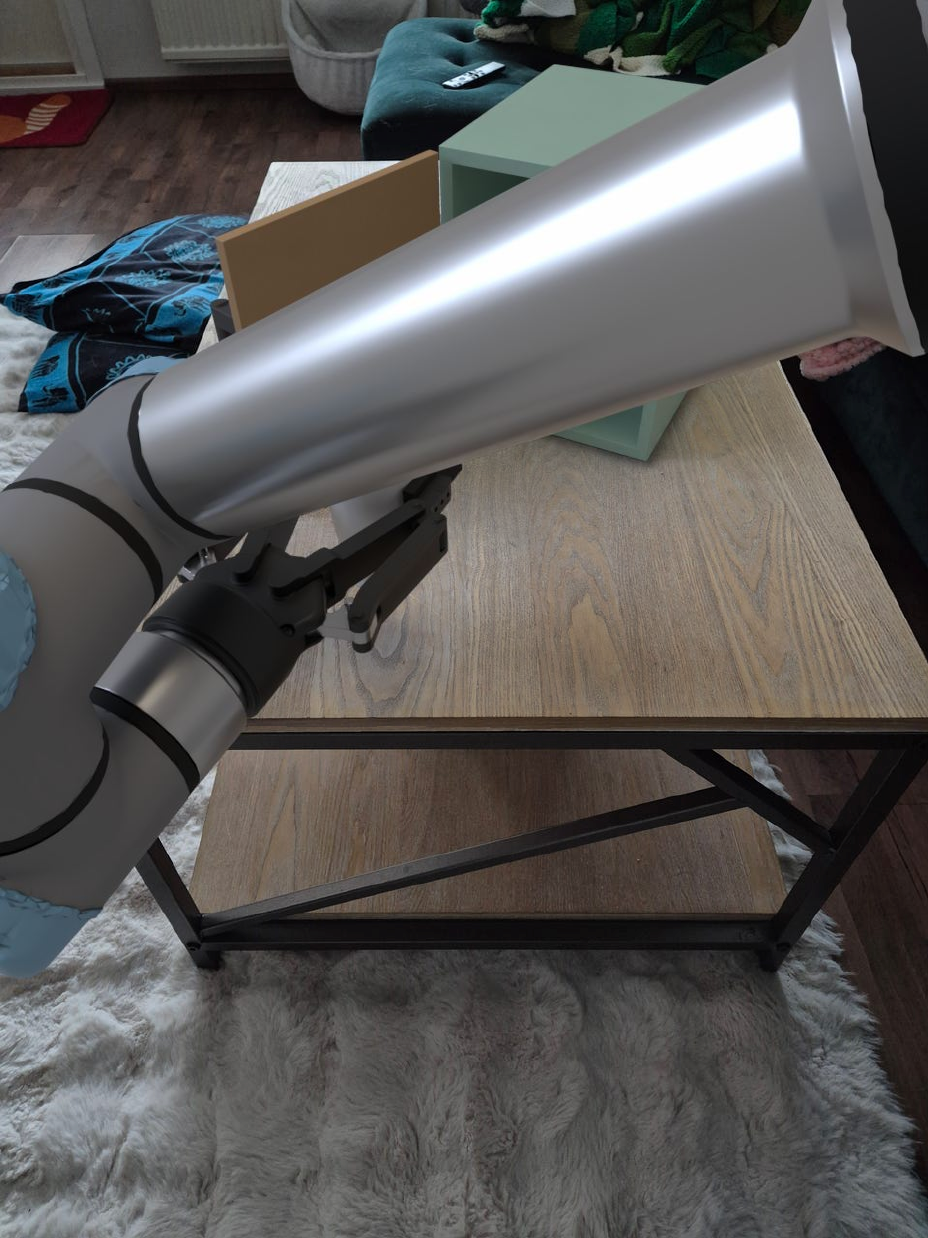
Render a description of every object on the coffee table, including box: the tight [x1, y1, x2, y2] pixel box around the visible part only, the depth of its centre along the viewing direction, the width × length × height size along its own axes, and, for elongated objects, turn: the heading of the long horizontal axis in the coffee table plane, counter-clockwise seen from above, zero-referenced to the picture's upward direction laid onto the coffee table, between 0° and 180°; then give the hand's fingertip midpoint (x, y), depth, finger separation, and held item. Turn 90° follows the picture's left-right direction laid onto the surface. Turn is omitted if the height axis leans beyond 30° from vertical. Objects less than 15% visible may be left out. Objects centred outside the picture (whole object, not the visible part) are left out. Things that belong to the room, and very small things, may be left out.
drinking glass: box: [327, 480, 411, 588], centre depth 55 cm, size 7×7×15 cm
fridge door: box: [209, 149, 441, 342], centre depth 73 cm, size 6×21×24 cm, turn 138°
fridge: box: [438, 64, 707, 462], centre depth 82 cm, size 24×21×24 cm
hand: (410, 438), depth 58 cm, fingers closed on drinking glass, 6 cm apart
